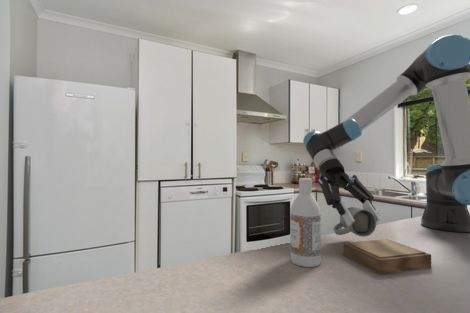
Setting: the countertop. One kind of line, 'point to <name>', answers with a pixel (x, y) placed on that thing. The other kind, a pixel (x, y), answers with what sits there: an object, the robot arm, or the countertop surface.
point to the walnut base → (386, 256)
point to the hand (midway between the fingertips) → (364, 222)
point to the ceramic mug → (357, 223)
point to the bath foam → (305, 227)
